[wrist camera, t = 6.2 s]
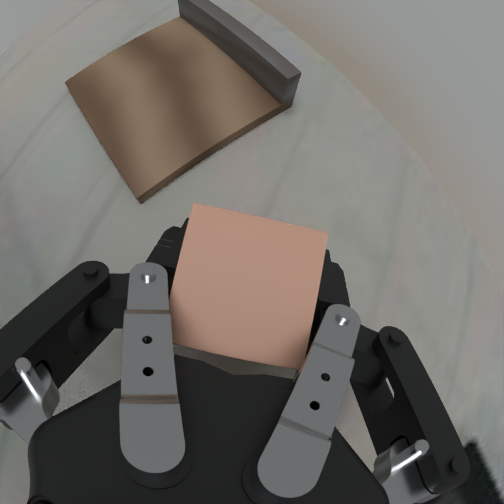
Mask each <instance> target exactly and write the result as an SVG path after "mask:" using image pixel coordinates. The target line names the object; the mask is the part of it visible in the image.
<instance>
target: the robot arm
mask: <svg viewBox="0 0 504 504" xmlns="http://www.w3.org/2000/svg"><path fill="white" fill-rule="evenodd" d="M188 221H189V218H187V219H186V220H185V222H184V224H183V226H182V227H181V228H179V227H175V226H173V227H171V228H169V229H168V230H166V231H165V232H164V233H163V235H162V237H161V239H160V240H159V241H158V243H157V245H156V246H155V248H154V249H153V251H152V252H151V254H150V256H149V257H148V259H147V260H146V262H145V263H140V264H138V265H136V266H134V267H133V268H132V269H131V271H130V273H126V274H110V273H109V269H108V267H107V266H106V265H105V264H104V263H102V262H99V261H87V262H84V263H81V264H80V265H78V266H77V267H76V268H74V269H73V270H72V271H70V272H69V273H68V274H66V275H65V276H64V277H63V278H61V279H60V280H59V281H58V282H56V283H55V284H54V285H53V286H51V287H50V288H49V289H48V290H46V291H45V292H44V293H43V294H41V295H40V296H39V297H38V298H36V299H35V300H34V301H33V302H32V303H30V304H29V305H28V306H27V307H26V308H25V309H23V310H22V311H21V312H20V313H19V314H18V315H16V316H15V317H14V318H13V319H12V320H11V321H9V322H8V323H7V324H6V325H5V326H4V327H3V328H2V329H0V421H1V422H2V424H3V425H4V426H5V427H7V428H9V429H11V430H14V431H15V432H16V433H17V434H18V435H19V436H20V437H21V438H22V439H23V440H24V441H25V442H26V443H27V444H28V445H29V446H28V462H29V469H30V494H29V499H28V502H27V504H422V503H424V502H426V501H429V500H431V499H433V498H435V497H437V496H439V495H441V494H444V493H446V492H448V491H450V490H452V489H453V488H455V487H457V486H459V485H461V484H463V483H464V482H465V481H466V480H467V478H468V476H469V473H470V463H469V460H468V457H467V455H466V453H465V451H464V448H463V446H462V444H461V441H460V439H459V437H458V435H457V433H456V430H455V428H454V426H453V424H452V422H451V420H450V418H449V415H448V413H447V411H446V409H445V407H444V405H443V403H442V401H441V399H440V397H439V395H438V393H437V391H436V389H435V387H434V385H433V383H432V381H431V379H430V377H429V376H428V374H427V372H426V370H425V368H424V366H423V364H422V362H421V361H420V359H419V357H418V355H417V353H416V351H415V350H414V348H413V346H412V344H411V342H410V341H409V339H408V337H407V336H406V335H405V334H404V333H403V332H402V331H401V330H399V329H397V328H395V327H391V326H386V327H383V328H382V329H381V330H380V331H379V333H378V332H376V331H373V330H371V329H369V328H367V327H365V326H363V325H361V324H360V323H361V321H360V317H359V315H358V314H357V313H356V312H355V311H354V310H353V309H351V308H350V303H349V298H348V292H347V288H346V282H345V277H344V273H343V270H342V269H341V268H340V266H339V265H338V263H334V262H331V259H330V253H329V250H327V249H326V251H325V257H324V263H323V269H322V275H321V280H320V286H319V291H318V297H317V302H316V307H315V312H314V317H313V322H312V327H311V332H310V337H309V342H308V349H307V351H306V356H305V360H304V362H303V364H302V365H301V367H300V369H299V370H298V369H297V372H296V374H295V376H294V378H293V379H288V378H282V377H276V376H271V375H265V374H263V375H232V374H229V373H227V372H225V371H223V370H220V369H218V368H216V367H214V366H212V365H210V364H207V363H205V362H203V361H199V360H194V359H190V358H186V357H182V356H178V355H174V354H173V342H172V329H171V315H170V310H169V298H170V293H171V289H172V285H173V280H174V276H175V272H176V268H177V264H178V260H179V256H180V252H181V248H182V244H183V240H184V236H185V233H186V229H187V225H188ZM114 328H123V339H122V363H121V380H119V381H117V382H116V383H114V384H112V385H110V386H108V387H107V388H105V389H103V390H101V391H99V392H98V393H96V394H94V395H92V396H90V397H88V398H87V399H85V400H83V401H81V402H79V403H77V404H75V405H74V406H72V407H70V408H68V409H66V410H64V411H62V412H60V413H59V414H57V415H55V416H53V413H54V411H55V409H56V407H57V405H58V403H59V399H60V394H59V390H58V389H59V388H60V387H61V385H62V384H63V383H64V382H65V381H66V380H67V379H68V378H69V377H70V376H71V374H72V373H73V372H74V371H75V370H76V369H77V368H78V367H79V366H80V365H81V364H82V362H83V361H84V360H85V359H86V358H87V357H88V356H89V355H90V354H91V353H92V352H93V351H94V350H95V349H96V347H97V346H98V345H99V344H100V343H101V342H102V341H103V340H104V339H105V338H106V337H107V336H108V335H109V334H110V333H111V332H112V330H113V329H114ZM386 378H388V380H389V382H390V384H391V386H392V389H393V391H394V398H393V396H392V393H391V391H390V389H389V387H388V384H387V382H386V380H385V379H386ZM349 380H350V383H351V386H352V388H353V391H354V394H355V396H356V399H357V402H358V404H359V407H360V410H361V412H362V415H363V418H364V420H365V423H366V426H367V428H368V431H369V434H370V437H371V440H372V442H373V445H374V448H375V451H376V454H377V458H376V460H375V462H374V471H373V473H372V472H371V471H370V470H369V469H368V467H367V466H366V465H365V464H364V463H363V461H362V460H361V459H360V458H359V456H358V455H357V454H356V453H355V451H354V450H353V449H352V448H351V446H350V445H349V444H348V442H347V441H346V440H345V439H344V437H343V436H342V435H341V434H340V432H339V431H338V430H337V428H336V427H335V424H336V421H337V418H338V415H339V412H340V409H341V406H342V403H343V400H344V396H345V393H346V390H347V387H348V383H349Z"/></svg>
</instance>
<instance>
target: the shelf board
mask: <svg viewBox="0 0 504 504" xmlns="http://www.w3.org/2000/svg"><path fill="white" fill-rule="evenodd" d="M178 4H179V12H180V17H178V18H176V19H174V20H171V21H169V22H167V23H165V24H163V25H161V26H159V27H156V28H154V29H152V30H150V31H148V32H146V33H145V34H143V35H141V36H139V37H137V38H135V39H133V40H131V41H129V42H128V43H126V44H124V45H122V46H121V47H119V48H117V49H115V50H114V51H112V52H110V53H109V54H107V55H105V56H104V57H102V58H100V59H99V60H97V61H96V62H94V63H92V64H91V65H89V66H88V67H86V68H85V69H83V70H82V71H80V72H79V73H77V74H76V75H74V76H73V77H72V78H70V79H69V80H67V81H66V82H65V84H66V86H67V87H68V89H69V91H70V93H71V94H72V96H73V98H74V99H75V101H76V103H77V104H78V106H79V108H80V110H81V111H82V113H83V115H84V116H85V118H86V120H87V121H88V123H89V125H90V126H91V128H92V129H93V131H94V133H95V134H96V136H97V138H98V139H99V141H100V142H101V144H102V146H103V147H104V149H105V150H106V152H107V153H108V155H109V157H110V158H111V160H112V161H113V163H114V164H115V166H116V168H117V169H118V171H119V172H120V174H121V175H122V177H123V178H124V180H125V181H126V183H127V184H128V186H129V187H130V189H131V190H132V192H133V193H134V195H135V196H136V198H137V199H138V201H139V202H140V203H142V202H144V201H145V200H146V199H148V198H149V197H151V196H152V195H153V194H155V193H156V192H157V191H159V190H160V189H162V188H163V187H164V186H166V185H167V184H169V183H170V182H171V181H173V180H174V179H176V178H177V177H179V176H180V175H182V174H183V173H184V172H186V171H187V170H189V169H190V168H192V167H193V166H195V165H196V164H198V163H199V162H201V161H202V160H204V159H205V158H207V157H208V156H210V155H211V154H213V153H214V152H216V151H218V150H219V149H221V148H222V147H224V146H225V145H227V144H229V143H230V142H232V141H233V140H235V139H237V138H238V137H240V136H241V135H243V134H245V133H246V132H248V131H250V130H251V129H253V128H255V127H256V126H258V125H260V124H261V123H263V122H265V121H267V120H268V119H270V118H272V117H273V116H275V115H277V114H279V113H280V112H282V111H284V110H286V109H287V108H289V107H291V106H292V103H293V99H294V96H295V92H296V89H297V86H298V82H299V79H300V75H301V72H300V71H299V70H298V69H297V68H296V67H295V66H294V65H293V64H291V63H290V62H289V61H288V60H287V59H286V58H284V57H283V56H282V55H281V54H280V53H278V52H277V51H276V50H275V49H274V48H272V47H271V46H270V45H269V44H267V43H266V42H265V41H264V40H262V39H261V38H260V37H259V36H257V35H256V34H255V33H254V32H252V31H251V30H250V29H248V28H247V27H246V26H244V25H243V24H242V23H240V22H239V21H237V20H236V19H235V18H233V17H232V16H231V15H229V14H228V13H226V12H225V11H223V10H222V9H221V8H219V7H218V6H216V5H215V4H213V3H212V2H210V1H209V0H178Z"/></svg>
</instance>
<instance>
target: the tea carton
mask: <svg viewBox="0 0 504 504" xmlns="http://www.w3.org/2000/svg"><path fill="white" fill-rule="evenodd" d="M327 238H328V233H327V232H323V231H319V230H315V229H310V228H306V227H302V226H298V225H293V224H289V223H285V222H281V221H276V220H272V219H267V218H263V217H259V216H254V215H250V214H245V213H240V212H236V211H231V210H227V209H222V208H217V207H213V206H208V205H203V204H198V203H193V207H192V210H191V214H190V218H189V221H188V225H187V229H186V233H185V236H184V240H183V244H182V248H181V252H180V256H179V260H178V264H177V268H176V272H175V276H174V280H173V285H172V289H171V293H170V298H169V310H170V315H171V329H172V342H173V344H177V345H181V346H185V347H189V348H193V349H198V350H202V351H206V352H210V353H215V354H219V355H224V356H228V357H233V358H238V359H243V360H248V361H253V362H258V363H263V364H269V365H274V366H280V367H286V368H292V369H298V370H299V369H300V367H301V365H302V364H303V362H304V360H305V356H306V351H307V346H308V342H309V337H310V332H311V327H312V322H313V317H314V312H315V307H316V302H317V297H318V291H319V286H320V280H321V275H322V269H323V263H324V257H325V251H326V245H327Z"/></svg>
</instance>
